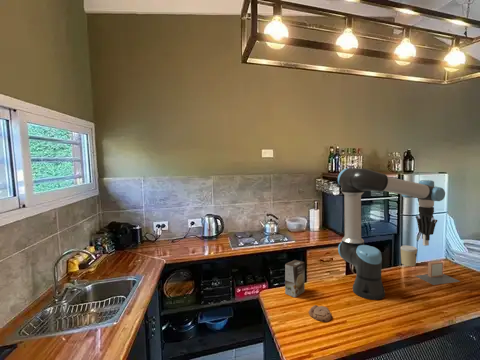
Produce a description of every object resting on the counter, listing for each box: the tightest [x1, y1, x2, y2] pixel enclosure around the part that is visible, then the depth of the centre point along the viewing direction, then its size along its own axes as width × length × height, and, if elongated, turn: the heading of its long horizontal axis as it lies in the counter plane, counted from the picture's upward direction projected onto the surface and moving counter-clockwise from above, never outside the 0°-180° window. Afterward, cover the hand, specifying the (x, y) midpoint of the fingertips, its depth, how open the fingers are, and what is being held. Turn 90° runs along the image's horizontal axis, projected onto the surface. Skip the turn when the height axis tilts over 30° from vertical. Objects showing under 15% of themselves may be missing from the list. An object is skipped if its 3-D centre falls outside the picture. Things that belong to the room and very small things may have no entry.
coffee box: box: [284, 259, 306, 298], centre depth 141 cm, size 9×6×16 cm
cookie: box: [308, 304, 333, 323], centre depth 120 cm, size 10×11×3 cm
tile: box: [427, 260, 444, 277], centre depth 155 cm, size 8×2×8 cm, turn 101°
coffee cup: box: [400, 245, 418, 267], centre depth 173 cm, size 9×9×12 cm
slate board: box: [415, 273, 461, 286], centre depth 152 cm, size 18×12×1 cm, turn 101°
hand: (425, 245), depth 161 cm, fingers closed
